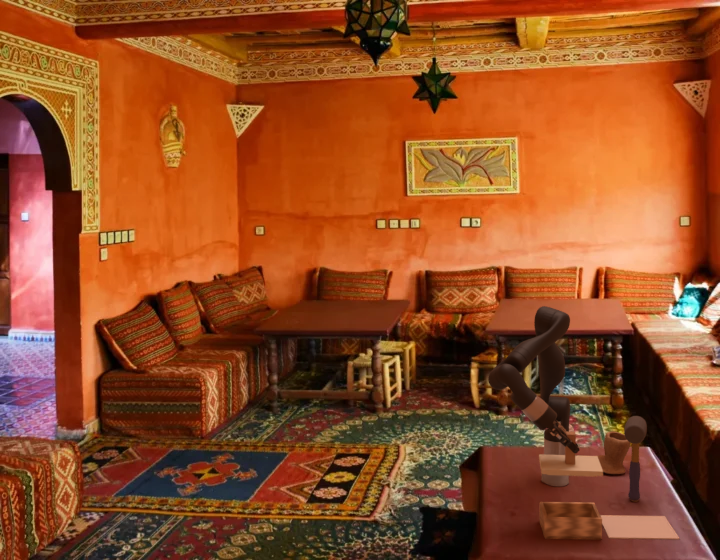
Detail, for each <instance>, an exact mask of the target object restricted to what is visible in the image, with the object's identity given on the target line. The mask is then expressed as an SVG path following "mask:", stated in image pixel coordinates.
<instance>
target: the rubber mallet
mask: <svg viewBox="0 0 720 560" xmlns="http://www.w3.org/2000/svg"><path fill="white" fill-rule="evenodd" d="M647 427H648V425H647V421H646V419H644V417H642V416H639V415H632V416H631V417H629V418H628V419H627V421H626V423H625V425H624V430H623V431H624V432H623V434H624V435H625V438H626V439H627V440H628V441H629V442H630V444H631V459H630V462H629V463H630V464H629V471H628V472H629V473H628V476H629V490H628V495H627V496H628V499H629V500H630V501H631V502H634V503H636V502H639V500H640V499H641V494H640V493H641V492H640V481H641V480H640V478H641V463H640V444H641V443H642V442H643V441H644V440H645V438H646V436H647V432H648V428H647Z"/></svg>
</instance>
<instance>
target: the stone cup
mask: <svg viewBox="0 0 720 560" xmlns="http://www.w3.org/2000/svg"><path fill="white" fill-rule="evenodd" d="M630 445H631V443H630V442H629V441H628V440H627V439H626V438H625V434H624V433H621V432H618V431H608V432H607V433H606V434H605V436H604V441H603V451H604V454H600V455H599V454H598V455H597V456H598V459H599V462H600V465H601V467H602V470H603V473H605V474H608V475H620V474H621V475H622V474H625V473H626V468H625V466H624V460H625V458H626V456H627V454H628V452H629V450H630V447H631V446H630Z"/></svg>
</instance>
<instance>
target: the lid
mask: <svg viewBox="0 0 720 560" xmlns="http://www.w3.org/2000/svg"><path fill="white" fill-rule="evenodd" d="M566 433H567V436H568V437H569V438H570V439H571V440H572V442H573V443H574V444H575V445H576V443H577V441H576V440H577V434H576V432H575V431H574V432H566ZM566 441H567V440H565V442H566ZM598 456H599V455H576V454H575V453H573V452H572V451H571V450H570V449H569V448H568V447H567V446H566V447H565V455H545V454H544V453H542V454H540V453H539V454H538V462H539V468H540V473H541V475H542V474H547V475H561V476H570V477H591V478H592V477H593V478H594V477H595V478H596V477H604V472H603V470H602V467H601V465H600V462H599V459H598Z"/></svg>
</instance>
